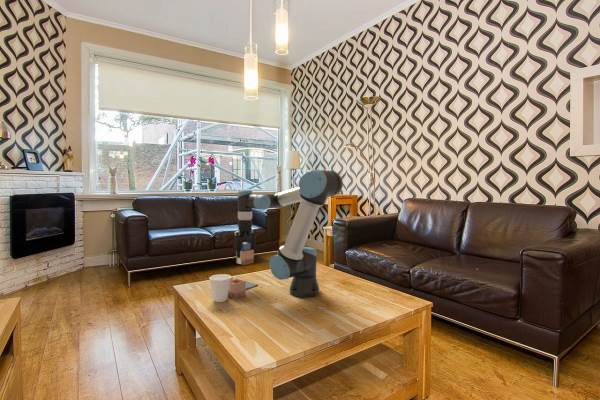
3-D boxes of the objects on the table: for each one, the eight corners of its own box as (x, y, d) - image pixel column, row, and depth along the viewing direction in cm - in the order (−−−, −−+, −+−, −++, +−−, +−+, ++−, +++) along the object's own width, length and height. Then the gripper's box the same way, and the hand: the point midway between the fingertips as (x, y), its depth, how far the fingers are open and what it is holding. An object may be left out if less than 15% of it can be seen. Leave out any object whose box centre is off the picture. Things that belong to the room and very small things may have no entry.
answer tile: (245, 281, 177) (245, 280, 177) (258, 285, 171) (258, 284, 171) (231, 286, 169) (231, 285, 169) (244, 290, 163) (244, 289, 163)
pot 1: (245, 260, 174) (245, 247, 174) (253, 262, 170) (253, 249, 170) (236, 262, 169) (236, 249, 169) (244, 264, 165) (244, 251, 165)
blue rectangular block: (245, 256, 172) (245, 242, 172) (250, 257, 170) (250, 243, 169) (239, 258, 169) (239, 243, 169) (244, 259, 167) (244, 244, 166)
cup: (225, 305, 143) (225, 281, 143) (205, 303, 145) (205, 279, 145) (234, 297, 153) (234, 274, 152) (215, 295, 155) (215, 273, 154)
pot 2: (236, 292, 160) (236, 278, 160) (245, 295, 156) (245, 281, 156) (226, 295, 155) (226, 281, 155) (235, 298, 151) (235, 284, 151)
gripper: (253, 217, 178) (253, 258, 180) (225, 220, 163) (225, 264, 164) (263, 218, 174) (262, 260, 175) (235, 221, 158) (235, 267, 160)
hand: (244, 262), depth 170 cm, fingers closed on pot 1, 6 cm apart
